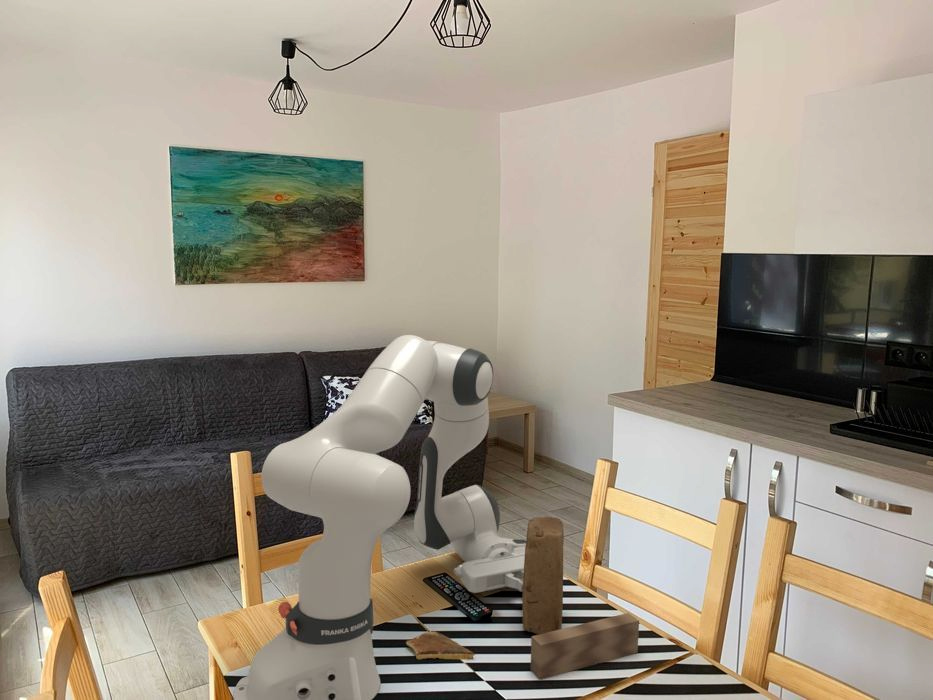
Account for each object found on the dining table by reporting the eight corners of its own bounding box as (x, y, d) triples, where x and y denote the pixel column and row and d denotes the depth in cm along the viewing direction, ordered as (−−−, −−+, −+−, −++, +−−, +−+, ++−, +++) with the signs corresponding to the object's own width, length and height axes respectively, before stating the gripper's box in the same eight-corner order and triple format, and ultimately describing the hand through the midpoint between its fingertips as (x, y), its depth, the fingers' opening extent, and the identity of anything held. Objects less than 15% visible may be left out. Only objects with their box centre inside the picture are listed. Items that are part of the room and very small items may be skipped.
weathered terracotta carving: (561, 639, 129) (565, 533, 126) (520, 635, 130) (523, 530, 127) (562, 611, 139) (566, 512, 137) (524, 607, 141) (527, 510, 138)
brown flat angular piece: (475, 661, 122) (475, 651, 122) (442, 679, 117) (442, 669, 117) (434, 636, 130) (434, 627, 130) (401, 652, 125) (401, 642, 125)
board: (539, 679, 116) (540, 645, 116) (530, 670, 119) (531, 636, 118) (637, 652, 125) (639, 620, 124) (626, 644, 128) (628, 612, 127)
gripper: (450, 553, 146) (480, 580, 134) (535, 538, 155) (571, 562, 143) (450, 582, 147) (480, 612, 135) (535, 566, 156) (570, 592, 143)
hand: (528, 586), depth 139 cm, fingers closed
